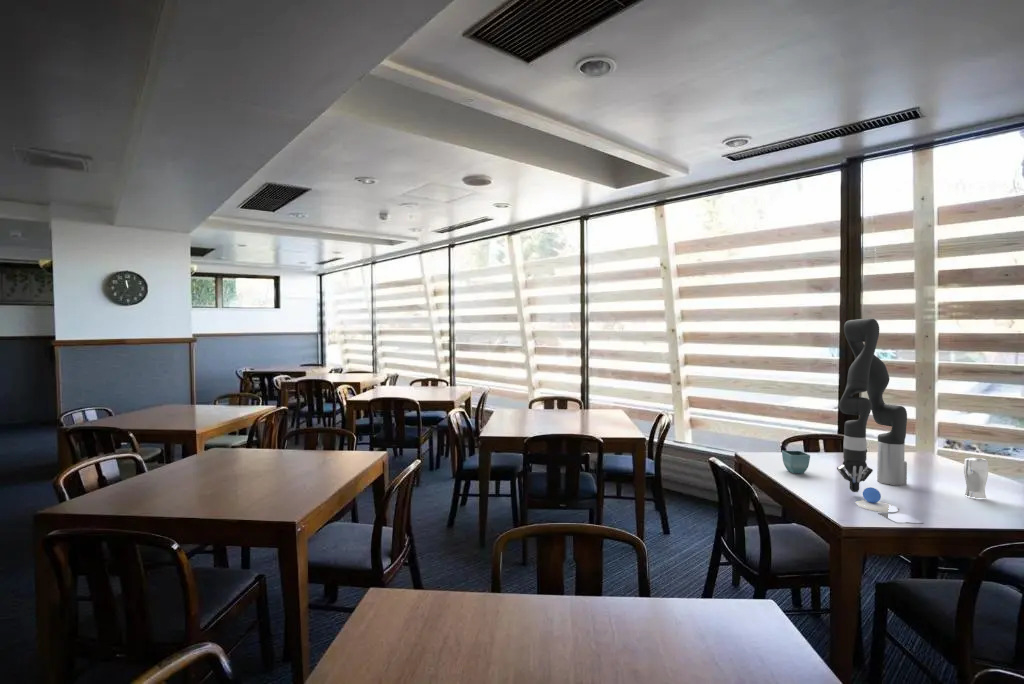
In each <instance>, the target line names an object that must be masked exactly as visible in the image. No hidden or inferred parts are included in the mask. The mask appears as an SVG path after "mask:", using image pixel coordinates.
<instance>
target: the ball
mask: <svg viewBox="0 0 1024 684" xmlns="http://www.w3.org/2000/svg"><path fill="white" fill-rule="evenodd" d="M881 495H882V494H881V492H880V491H879V490H878V489H877V488H875V487H865V488H864V489H863V491H862V497H863V499H864V500H866V501H868V502H870V503H876V502H880V500H881V499H882V496H881Z"/></svg>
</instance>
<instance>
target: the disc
mask: <svg viewBox="0 0 1024 684" xmlns="http://www.w3.org/2000/svg"><path fill="white" fill-rule="evenodd" d="M855 503H859V504H857V505H859V506H860V507H859V506H858V507H859V508H861V507H863V508H862V509H864V508H865V509H864V510H867V509H869V510H868V511H871V510H872V511H871V512H876V511H878V513H883V512H888V510H889V509H888V508H889V504H890V503H885V502H883V501H878V502H876V503H870V502H868V501H866V500H865V499H864V500H863V499H862V500H861V499H860V500H857V501H855ZM857 505H856V506H857ZM864 505H865V506H864ZM890 505H891V506H892V505H893V504H890Z"/></svg>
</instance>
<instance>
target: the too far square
mask: <svg viewBox="0 0 1024 684" xmlns="http://www.w3.org/2000/svg"><path fill="white" fill-rule="evenodd" d="M877 514H878V515H879V514H880V515H879V516H881V515H882V517H883V516H884V518H885V517H886V519H887V518H888V513H883V512H878V513H877Z"/></svg>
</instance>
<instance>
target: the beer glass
mask: <svg viewBox="0 0 1024 684" xmlns="http://www.w3.org/2000/svg"><path fill="white" fill-rule="evenodd" d="M963 464H964V465H963V475H964V480H965V484H966V489H965V494H964V496H965V495H967V496H970V497H975V498H986V499H987V496H986V486H987V481H988V477H989V463H988V460H987V459H986V458H981V457H973V456H971V457H970V456H966V457H964V463H963Z"/></svg>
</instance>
